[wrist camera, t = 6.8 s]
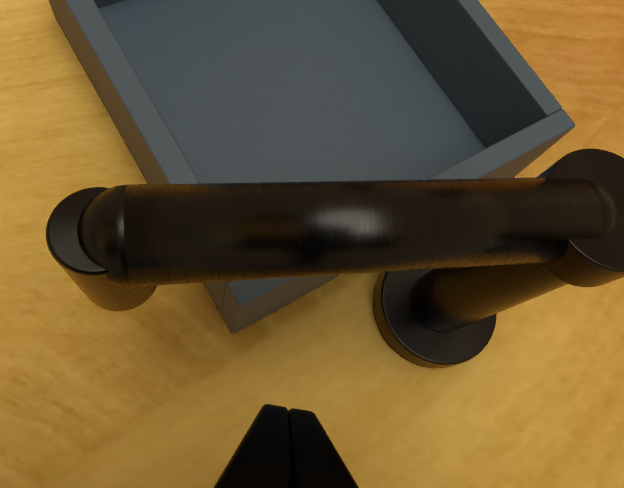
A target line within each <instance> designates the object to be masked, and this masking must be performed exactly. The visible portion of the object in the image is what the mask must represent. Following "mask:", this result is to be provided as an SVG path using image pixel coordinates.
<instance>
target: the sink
mask: <svg viewBox="0 0 624 488" xmlns="http://www.w3.org/2000/svg"><path fill="white" fill-rule="evenodd" d="M49 2H50V5H51V8H52V10H53V13H54V16H55V18H56V20H57V21H58V23H59V25H60V27H61V29H62V30H63V32H64V34H65V36H66V38H67V39H68V41H69V43H70V45H71V47H72V48H73V50H74V52H75V54H76V55H77V57H78V59H79V61H80V63H81V64H82V66H83V68H84V70H85V72H86V73H87V75H88V77H89V79H90V81H91V82H92V84H93V86H94V88H95V89H96V91H97V93H98V95H99V97H100V98H101V100H102V102H103V104H104V106H105V107H106V109H107V111H108V113H109V115H110V116H111V118H112V120H113V122H114V124H115V125H116V127H117V129H118V131H119V132H120V134H121V136H122V138H123V140H124V141H125V143H126V145H127V147H128V149H129V150H130V152H131V154H132V156H133V158H134V159H135V161H136V163H137V165H138V166H139V168H140V170H141V172H142V174H143V175H144V177H145V179H146V181H147V183H148V184H200V183H257V182H315V181H373V180H431V179H489V178H514V177H515V176H516V175H517V174H518V173H519V172H521V171H522V170H523V169H524V168H526V167H527V166H528V165H529V164H530V163H532V162H533V161H534V160H535V159H536V158H538V157H539V156H540V155H541V154H542V153H544V152H545V151H546V150H547V149H548V148H550V147H551V146H552V145H553V144H555V143H556V142H557V141H558V140H559V139H561V138H562V137H563V136H564V135H565V134H567V133H568V132H569V131H570V130H571V129H573V128H574V127H575V124H574V122H573V121H572V120H571V118H570V117H569V116H568V115H567V113H566V112H565V111H564V110H563V109H562V107H561V105H560V104H559V103H558V101H557V100H556V99H555V98H554V96H553V95H552V94H551V93H550V91H549V90H548V89H547V87H546V86H545V85H544V84H543V82H542V81H541V80H540V79H539V77H538V76H537V75H536V74H535V72H534V71H533V70H532V68H531V67H530V66H529V65H528V63H527V62H526V61H525V60H524V58H523V57H522V56H521V55H520V53H519V52H518V51H517V49H516V48H515V47H514V46H513V44H512V43H511V42H510V41H509V39H508V38H507V37H506V35H505V34H504V33H503V32H502V30H501V29H500V28H499V27H498V25H497V24H496V23H495V22H494V20H493V19H492V18H491V16H490V15H489V14H488V13H487V11H486V10H485V9H484V8H483V6H482V5H481V4H480V2H479V1H478V0H49ZM337 276H339V275H324V276H307V277H290V278H273V279H256V280H239V281H222V282H205V283H204V285H205V286H206V288H207V290H208V292H209V294H210V295H211V297H212V299H213V301H214V303H215V304H216V306H217V308H218V310H219V312H220V313H221V315H222V317H223V319H224V320H225V322H226V324H227V326H228V328H229V329H230V331H231V333H232V334H235V333H237V332H239V331H240V330H242V329H244V328H246V327H247V326H249V325H251V324H253V323H255V322H256V321H258V320H260V319H262V318H264V317H265V316H267V315H269V314H271V313H273V312H274V311H276V310H278V309H280V308H281V307H283V306H285V305H287V304H289V303H290V302H292V301H294V300H296V299H298V298H299V297H301V296H303V295H305V294H306V293H308V292H310V291H312V290H314V289H315V288H317V287H319V286H321V285H323V284H324V283H326V282H328V281H330V280H332V279H333V278H335V277H337Z"/></svg>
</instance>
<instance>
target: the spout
mask: <svg viewBox="0 0 624 488" xmlns="http://www.w3.org/2000/svg"><path fill="white" fill-rule="evenodd" d="M46 241H47V245H48V248H49V251H50V252H51V254H52V256H53V257H54V258H55V260H56V261H57V262H58V263H59V264H60V266H61V267H62V268H63V269H64V270H65V271H66V273H67V274H68V275H69V276H70V277H71V278H72V279H73V281H74V282H75V283H76V284H77V285H78V286H79V288H80V289H81V290H82V291H83V292H84V293H85V295H86V296H87V297H88V298H89V299H90V300H91V301H92V302H93V303H94V304H96V305H97V306H99V307H101V308H103V309H106V310H110V311H126V310H130V309H133V308H135V307H138V306H139V305H141V304H143V303H144V302H145V301H146V300H148V299H149V298H150V296H151V295H152V294H153V292H154V291H155V289H156V287H157V285H171V284H188V283H205V282H222V281H239V280H256V279H273V278H290V277H307V276H324V275H341V274H358V273H375V272H392V271H409V270H426V269H443V268H460V267H477V266H493V265H510V264H527V263H537V264H538V265H539V266H540V267H541V268H543V269H544V270H545V271H546V272H547V273H549V274H550V275H552V276H553V277H555V278H557V279H558V280H560V281H563V282H565V283H567V284H571V285H574V286H580V287H595V286H600V285H603V284H606V283H609V282H611V281H614V280H617V279H619V278H622V277H624V158H623V157H621V156H619V155H616V154H614V153H611V152H608V151H605V150H600V149H581V150H577V151H574V152H571V153H569V154H567V155H565V156H564V157H562V158H561V159H560V160H558V161H557V162H556V163H555V164H553V165H552V166H551V167H549V168H548V169H547V170H545V171H544V172H543V173H542V174H540V175H539V176H538V177H536V178H489V179H431V180H373V181H315V182H257V183H200V184H142V185H122V186H116V187H112V188H104V187H94V188H87V189H83V190H80V191H77V192H75V193H73V194H71V195H69V196H67V197H66V198H65V199H63V200H62V201H61V202H60V203H59V204H58V205H57V206H56V208H55V209H54V210H53V212H52V213H51V215H50V218H49V220H48V223H47V227H46Z"/></svg>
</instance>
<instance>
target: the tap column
mask: <svg viewBox="0 0 624 488" xmlns="http://www.w3.org/2000/svg"><path fill="white" fill-rule="evenodd" d="M566 284H567V283H565V282H563V281H560V280H558V279H557V278H555V277H553V276H552V275H550V274H549V273H547V272H546V271H545V270H544V269H543V268H541V267H540V266H539V265H538V264H537V263H527V264H510V265H493V266H477V267H460V268H443V269H426V270H409V271H392V272H382V274H381V276H380V277H379V279H378V282H377V284H376V287H375V292H374V301H373V303H374V313H375V318H376V321H377V325H378V327H379V329H380V331H381V333H382V335H383V337H384V338H385V340H386V341H387V342H388V344H389V345H390V346H391V347H392V348H393V349H394V350H395V351H396V352H397V353H398V354H399V355H401V356H402V357H403V358H405V359H407V360H408V361H410V362H412V363H415V364H417V365H420V366H424V367H429V368H443V367H449V366H452V365H456V364H459V363H463V362H466V361H468V360H470V359H472V358H473V357H475V356H476V355H478V354H479V353H480V352H481V351H482V350H483V349H484V348H485V346H486V345H487V344H488V342H489V340H490V338H491V336H492V334H493V331H494V328H495V324H496V313H499V312H501V311H503V310H506V309H508V308H511V307H513V306H515V305H518V304H520V303H523V302H525V301H528V300H530V299H532V298H535V297H537V296H540V295H542V294H545V293H547V292H549V291H552V290H554V289H557V288H559V287H562V286H564V285H566Z"/></svg>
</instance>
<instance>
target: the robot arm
mask: <svg viewBox="0 0 624 488" xmlns="http://www.w3.org/2000/svg"><path fill="white" fill-rule="evenodd" d="M213 488H359V487H358V486H357V484H356V482H355V481H354V479H353V477H352V476H351V474H350V472H349V471H348V469H347V467H346V465H345V464H344V462H343V460H342V459H341V457H340V455H339V454H338V452H337V450H336V449H335V447H334V445H333V444H332V442H331V440H330V439H329V437H328V435H327V434H326V432H325V430H324V429H323V427H322V425H321V424H320V422H319V420H318V419H317V417H316V415H315V414H314V413H313V412H311V411H306V410H300V409H294V408H292V409H290V410H289V411H288V409H287V408H286V407H282V406H276V405H270V404H265V405H264V406H262V408H261V410H260V411H259V413H258V414H257V416H256V418H255V419H254V421H253V423H252V424H251V426H250V428H249V429H248V431H247V433H246V434H245V436H244V438H243V439H242V441H241V443H240V444H239V446H238V448H237V449H236V451H235V453H234V454H233V456H232V458H231V459H230V461H229V463H228V464H227V466H226V468H225V469H224V471H223V473H222V474H221V476H220V478H219V479H218V481H217V482H216V484H215V486H214V487H213Z"/></svg>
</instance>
